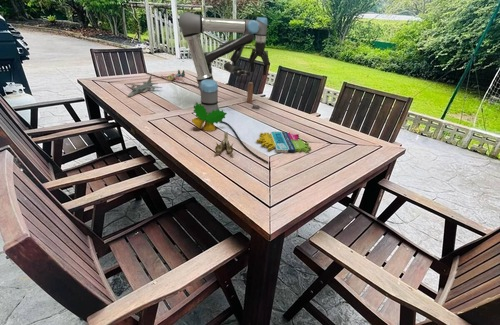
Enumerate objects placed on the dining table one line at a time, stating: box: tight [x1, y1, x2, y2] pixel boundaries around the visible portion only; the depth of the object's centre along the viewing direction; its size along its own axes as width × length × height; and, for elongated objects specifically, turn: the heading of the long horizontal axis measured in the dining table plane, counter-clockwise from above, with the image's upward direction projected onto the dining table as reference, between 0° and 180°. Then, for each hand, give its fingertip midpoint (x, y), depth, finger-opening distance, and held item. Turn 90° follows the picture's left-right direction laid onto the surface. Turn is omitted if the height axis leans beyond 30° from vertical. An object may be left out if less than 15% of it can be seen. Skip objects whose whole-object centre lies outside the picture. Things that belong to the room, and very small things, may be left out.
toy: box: [160, 69, 186, 82], centre depth 279 cm, size 28×7×30 cm
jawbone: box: [214, 131, 234, 156], centre depth 136 cm, size 9×15×10 cm
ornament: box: [191, 102, 228, 132], centre depth 162 cm, size 21×8×15 cm, turn 105°
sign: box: [256, 131, 312, 154], centre depth 152 cm, size 26×2×30 cm
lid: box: [252, 104, 260, 110], centre depth 207 cm, size 5×5×2 cm
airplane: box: [126, 75, 163, 98], centre depth 227 cm, size 38×31×10 cm
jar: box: [246, 81, 254, 104], centre depth 218 cm, size 5×5×16 cm
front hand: (258, 73), depth 194 cm, fingers open, 13 cm apart
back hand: (245, 74), depth 221 cm, fingers open, 8 cm apart
